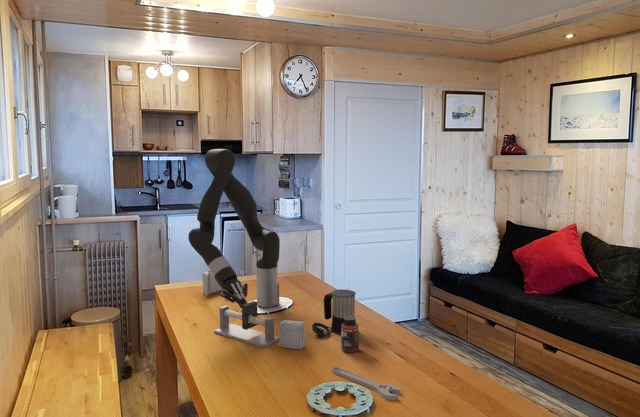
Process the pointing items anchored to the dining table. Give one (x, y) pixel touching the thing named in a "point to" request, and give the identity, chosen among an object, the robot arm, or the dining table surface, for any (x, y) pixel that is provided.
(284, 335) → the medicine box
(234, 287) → the robot arm
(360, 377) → the adjustable wrench
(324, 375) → the dining table surface
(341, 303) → the milk frother
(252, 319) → the pipe stand
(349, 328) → the supplement bottle
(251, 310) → the collar
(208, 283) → the grey rectangular block
